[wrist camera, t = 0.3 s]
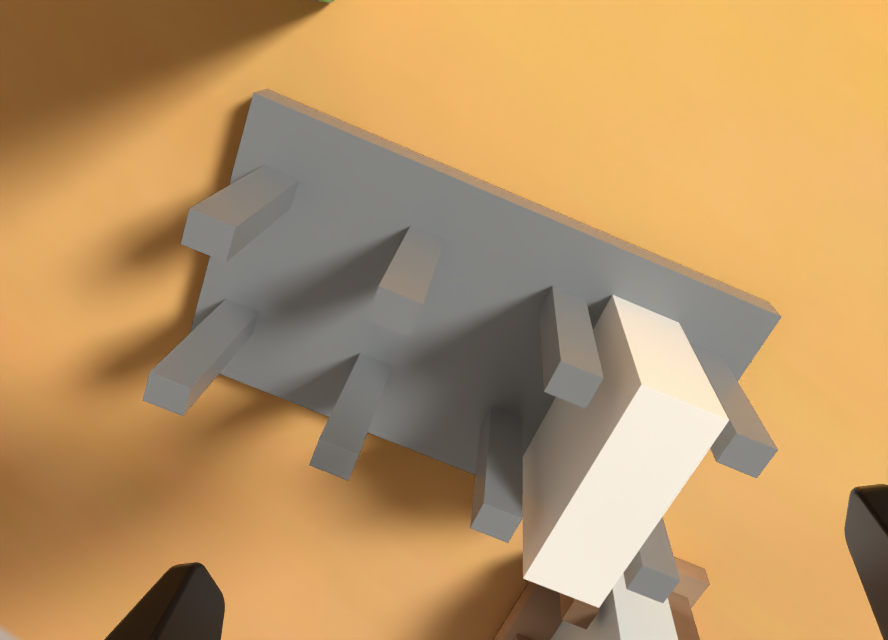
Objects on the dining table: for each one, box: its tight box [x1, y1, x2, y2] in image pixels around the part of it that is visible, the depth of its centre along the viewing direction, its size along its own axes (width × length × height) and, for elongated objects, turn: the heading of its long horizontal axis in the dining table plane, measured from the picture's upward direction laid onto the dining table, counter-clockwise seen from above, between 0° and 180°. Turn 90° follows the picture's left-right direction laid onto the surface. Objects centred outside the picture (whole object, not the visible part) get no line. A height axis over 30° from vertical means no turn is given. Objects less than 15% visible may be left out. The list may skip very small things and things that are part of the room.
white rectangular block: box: [523, 295, 729, 608], centre depth 21 cm, size 7×2×6 cm, turn 158°
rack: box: [143, 89, 781, 603], centre depth 22 cm, size 10×18×7 cm, turn 68°
